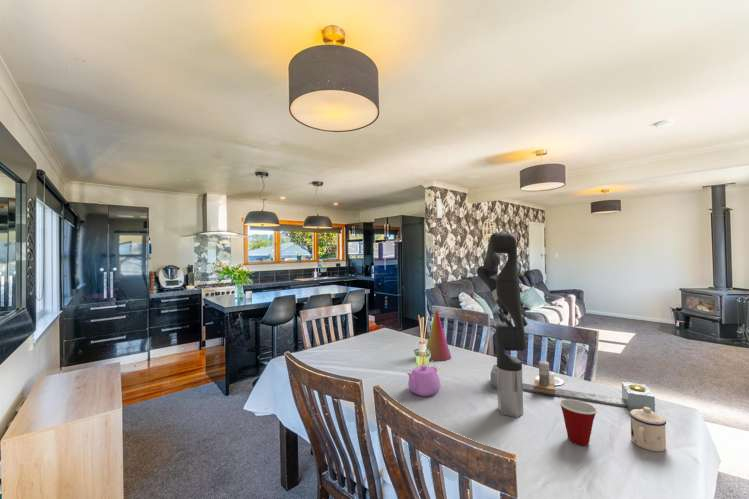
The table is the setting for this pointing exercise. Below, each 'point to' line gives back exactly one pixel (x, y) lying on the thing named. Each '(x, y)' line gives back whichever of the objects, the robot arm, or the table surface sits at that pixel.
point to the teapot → (424, 380)
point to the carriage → (544, 379)
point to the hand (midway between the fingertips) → (519, 327)
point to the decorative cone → (438, 341)
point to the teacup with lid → (648, 429)
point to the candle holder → (553, 378)
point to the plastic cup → (578, 420)
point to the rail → (631, 395)
